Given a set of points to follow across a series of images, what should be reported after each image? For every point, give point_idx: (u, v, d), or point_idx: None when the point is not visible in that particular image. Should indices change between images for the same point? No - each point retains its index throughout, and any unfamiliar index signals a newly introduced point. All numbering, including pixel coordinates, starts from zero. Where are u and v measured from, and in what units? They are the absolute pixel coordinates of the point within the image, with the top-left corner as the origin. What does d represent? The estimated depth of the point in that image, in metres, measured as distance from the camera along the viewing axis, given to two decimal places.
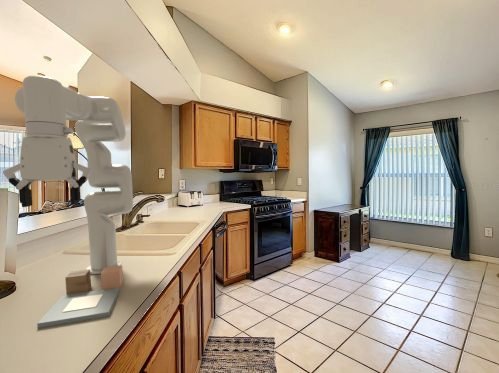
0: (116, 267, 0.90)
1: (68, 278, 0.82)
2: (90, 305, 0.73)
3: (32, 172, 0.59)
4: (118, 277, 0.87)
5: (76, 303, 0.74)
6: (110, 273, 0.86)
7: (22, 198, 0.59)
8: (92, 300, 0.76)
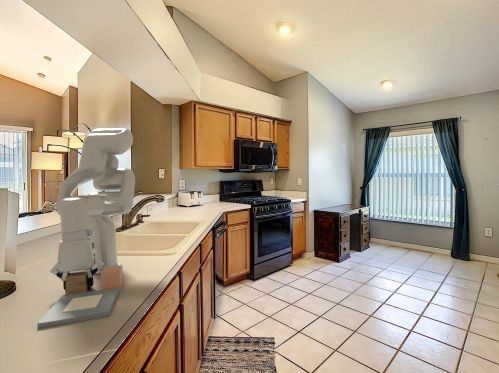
0: (116, 267, 0.90)
1: (68, 278, 0.82)
2: (90, 305, 0.73)
3: (66, 266, 0.82)
4: (118, 277, 0.87)
5: (76, 303, 0.74)
6: (110, 273, 0.86)
7: (65, 287, 0.83)
8: (92, 300, 0.76)
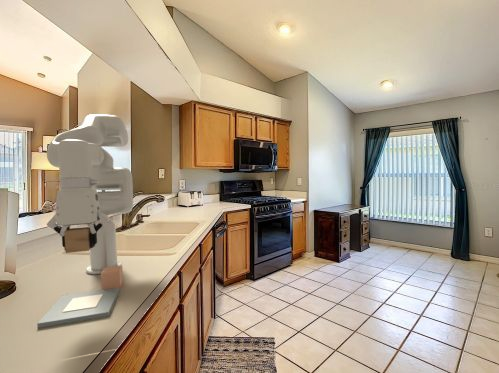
0: (116, 267, 0.90)
1: (67, 232, 0.71)
2: (90, 305, 0.73)
3: (65, 219, 0.71)
4: (118, 277, 0.87)
5: (76, 303, 0.74)
6: (110, 273, 0.86)
7: None
8: (92, 300, 0.76)
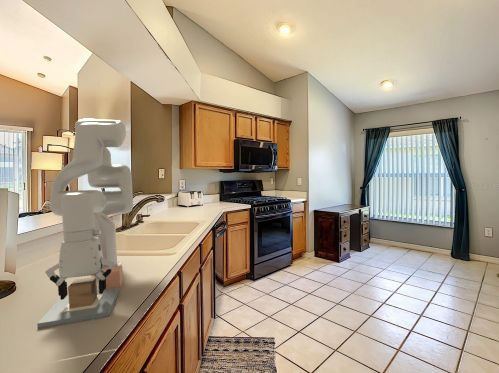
0: (116, 267, 0.90)
1: (71, 288, 0.71)
2: (90, 305, 0.73)
3: (69, 271, 0.71)
4: (118, 277, 0.87)
5: None
6: (110, 273, 0.86)
7: (61, 293, 0.72)
8: None
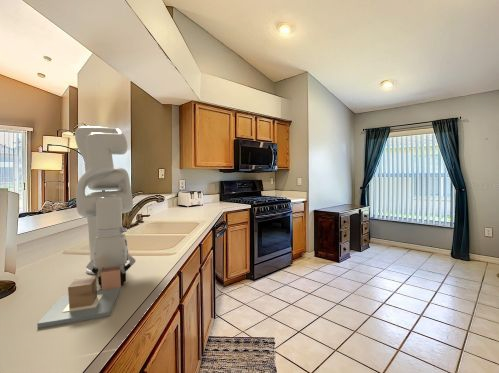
0: (116, 267, 0.90)
1: (71, 288, 0.71)
2: (90, 305, 0.73)
3: (101, 262, 0.85)
4: (118, 277, 0.87)
5: None
6: (110, 273, 0.86)
7: None
8: None
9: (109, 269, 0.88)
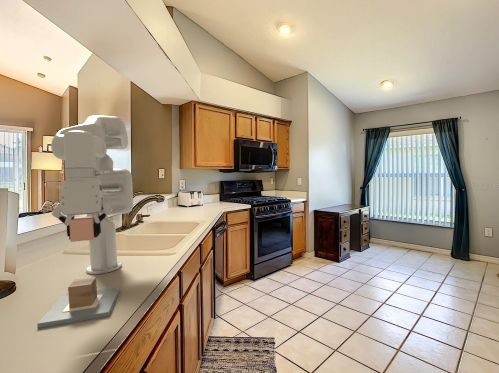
0: (89, 217, 0.77)
1: (71, 288, 0.71)
2: (90, 305, 0.73)
3: (70, 208, 0.72)
4: (90, 226, 0.73)
5: None
6: (80, 220, 0.73)
7: (69, 232, 0.73)
8: None
9: (80, 218, 0.75)
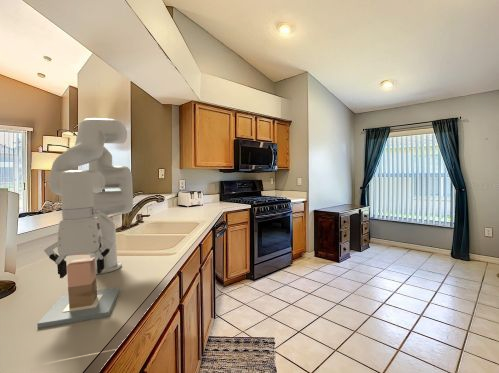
0: (87, 259, 0.76)
1: (71, 288, 0.71)
2: (90, 305, 0.73)
3: (67, 249, 0.71)
4: (88, 271, 0.72)
5: None
6: (78, 265, 0.72)
7: (60, 271, 0.71)
8: None
9: (78, 261, 0.74)
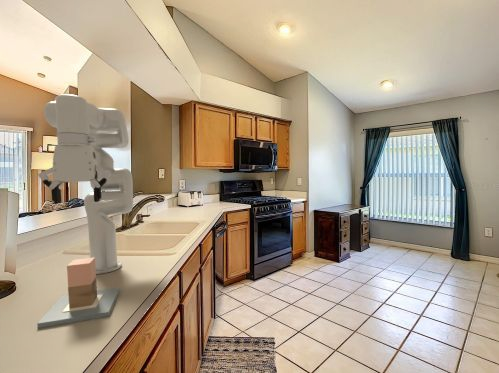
0: (87, 259, 0.76)
1: (71, 288, 0.71)
2: (90, 305, 0.73)
3: (62, 175, 0.70)
4: (88, 271, 0.72)
5: None
6: (78, 265, 0.72)
7: (54, 196, 0.70)
8: None
9: (78, 261, 0.74)
